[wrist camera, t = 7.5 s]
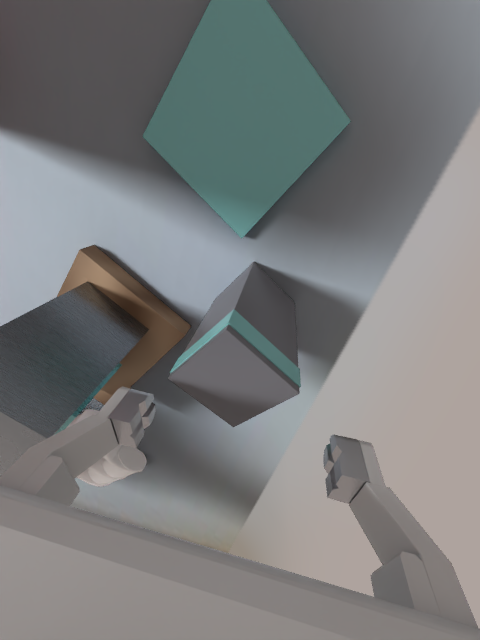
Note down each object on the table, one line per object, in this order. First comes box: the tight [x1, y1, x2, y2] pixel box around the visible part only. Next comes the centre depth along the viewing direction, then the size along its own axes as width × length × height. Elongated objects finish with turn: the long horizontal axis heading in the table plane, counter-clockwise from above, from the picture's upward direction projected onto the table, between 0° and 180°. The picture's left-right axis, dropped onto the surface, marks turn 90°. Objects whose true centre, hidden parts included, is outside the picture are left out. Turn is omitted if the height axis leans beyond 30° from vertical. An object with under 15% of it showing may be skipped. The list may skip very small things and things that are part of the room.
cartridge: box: [168, 262, 301, 427], centre depth 15 cm, size 5×5×9 cm
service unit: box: [0, 281, 149, 477], centre depth 18 cm, size 7×12×10 cm, turn 137°
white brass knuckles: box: [67, 409, 147, 487], centre depth 35 cm, size 3×18×15 cm
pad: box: [142, 0, 351, 238], centre depth 13 cm, size 8×8×1 cm
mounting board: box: [57, 245, 191, 405], centre depth 23 cm, size 10×16×2 cm, turn 137°
